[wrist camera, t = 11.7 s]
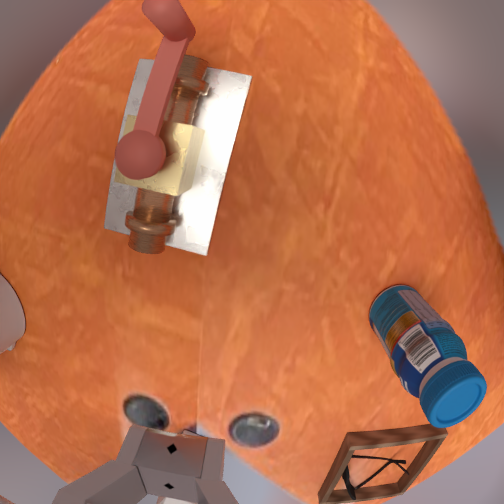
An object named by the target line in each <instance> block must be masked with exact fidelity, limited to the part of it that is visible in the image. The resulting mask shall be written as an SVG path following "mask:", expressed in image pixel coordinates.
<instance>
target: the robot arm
mask: <svg viewBox="0 0 504 504" xmlns="http://www.w3.org/2000/svg"><path fill="white" fill-rule="evenodd" d="M24 331H25V317H24V313H23V309H22V306H21V304H20V301H19V299H18V297H17V295H16V293H15V292H14V290H13V288H12V287H11V286H10V284H9V283H8V282H7V281H6V280H5V278H4V277H3V276H2V275H1V274H0V354H1V353H2V352H4V351H5V350H6V349H7V350H9V351H11V350H12V349H14V347H15V344H16V341H17V340H19V339H20V338H21V337H22V336H23V334H24ZM224 451H225V439H215V438H208V437H201V436H193V435H186V434H179V433H178V434H176V433H171V432H166V431H161V430H156V429H152V428H148V427H143V426H139V425H134V424H133V425H132V426H131V427H130V428H129V431H128V433H127V435H126V438H125V440H124V442H123V445H122V447H121V449H120V452H119V454H118V456H117V459H116V461H114V460H110V461H109V462H107V463H105V464H104V465H102V466H100V467H99V468H97V469H95V470H93V471H92V472H90V473H88V474H87V475H85V476H83V477H81V478H79V479H78V480H76V481H74V482H72V483H70V484H69V485H67V486H65V487H63V488H61V489H59V491H58V493H57V495H56V497H55V499H54V501H53V503H52V504H137V503H138V502H139V501H140V500H141V499H142V498H144V497H145V496H146V495H147V494H151V495H156V496H161V497H167V498H173V499H178V500H183V501H188V502H194V503H198V504H238V502H237V500H236V499H235V497H234V496H233V495H232V493H231V491H230V490H229V488H228V487H227V485H226V483H225V482H224V481H222V478H223V467H224ZM0 504H14V503H12V502H11V501H9V500H7V499H6V498H4V497H2V496H1V495H0Z"/></svg>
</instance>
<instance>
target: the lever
mask: <svg viewBox="0 0 504 504" xmlns="http://www.w3.org/2000/svg"><path fill="white" fill-rule="evenodd" d="M142 11H143V13H144V15H145V16H146V17H147V18H148V19H149V20H150V21H151V22H152V23H153V24H154V25H155V26H156V27H157V28H158V29H159V30H160V32H161V33H162V34H163V35H164V37H163V39H162V42H161V45H160V47H159V50H158V53H157V55H156V58H155V61H154V64H153V67H152V70H151V72H150V75H149V78H148V81H147V85H146V88H145V91H144V94H143V97H142V101H141V104H140V107H139V111H138V114H137V118H136V121H135V125H134V128H133V131H131V132H129V133H127V134H126V135H124V136H123V137H122V138H121V139H120V141H119V142H118V144H117V147H116V150H115V162H116V166H117V168H118V170H119V171H120V172H121V173H122V174H123V175H124V176H125V177H127V178H129V179H132V180H141V179H145V178H149V177H151V176H153V175H155V174H156V173H158V172H159V171H160V169H161V168H162V167H163V165H164V162H165V159H166V148H165V145H164V143H163V141H162V139H161V138H160V137H159V133H160V130H161V126H162V123H163V119H164V116H165V113H166V109H167V106H168V103H169V100H170V97H171V93H172V90H173V87H174V84H175V81H176V78H177V75H178V72H179V69H180V66H181V64H182V61H183V58H184V55H185V52H186V50H187V47H188V44H189V42H190V41H191V40H192V39H193V38H194V36H195V33H196V31H195V27H194V26H193V24H192V22H191V21H190V19H189V17H188V16H187V14H186V12H185V11H184V9H183V7H182V6H181V4H180V2H179V1H178V0H144V2H143V4H142Z"/></svg>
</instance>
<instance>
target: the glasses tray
mask: <svg viewBox="0 0 504 504" xmlns="http://www.w3.org/2000/svg"><path fill="white" fill-rule="evenodd" d="M447 435H448V432H447V430H446V428H437V427H434V426H433V425H432V424H428V425H421V426H414V427H406V428H398V429H389V430H378V431H366V432H349V433H347V434H346V437H345V439H344V441H343V443H342V446H341V448H340V450H339V452H338V454H337V456H336V459H335V461H334V463H333V465H332V467H331V469H330V471H329V473H328V475H327V477H326V479H325V481H324V483H323V485H322V487H321V489H320V490H319V492H318V499H319V504H340V503H350V502H359V501H367V500H374V499H380V498H386V497H392V496H397V495H402V494H403V493H404V492H405V491H406V490H407V489H408V487H409V486H410V485H411V484H412V483H413V481H414V480H415V479H416V478H417V476H418V475H419V474H420V473H421V471H422V470H423V469H424V467H425V466H426V465H427V463H428V462H429V461H430V459H431V458H432V457H433V455H434V454H435V452H436V451H437V449H438V448H439V447H440V445H441V444H442V442H443V441H444V439H445V438H446V436H447ZM424 441H426V443H425V444H424V446H423V447H422V449H421V450H420V452H419V453H418V455H417V456H416V457H415V459H414V460H413V462H412V463H411V465H410V466H409V467H408V469H407V470H406V471H408V472H409V475H407V474H406V473H404V474H403V476H402V477H401V478H400V479H399V481H398V482H397V483H392V484H386V485H379V486H372V487H364V488H358V489H357V490H356V489H355V490H354V491H355V495H356V500H352V499H351V497H350V495H349V493H348V491H347V489H345V490H334V488H335V486H336V484H337V483H338V481H339V479H340V477H341V476H342V474H343V472H344V470H345V468H346V466H347V465H348V463H349V461H350V459H351V457H352V455H353V453H354V451H355V450H361V449H373V448H382V447H391V446H398V445H406V444H412V443H418V442H424Z"/></svg>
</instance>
